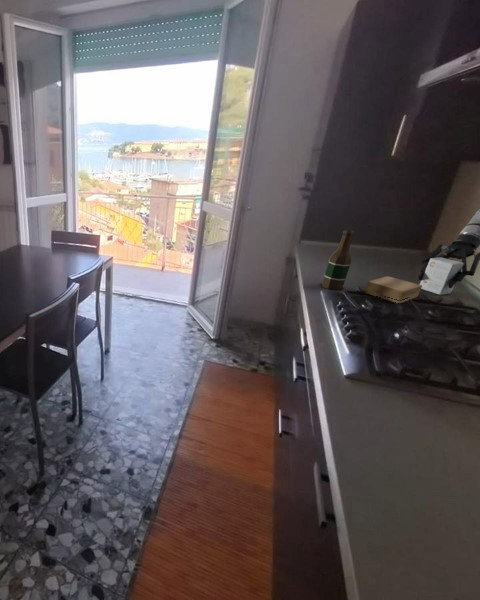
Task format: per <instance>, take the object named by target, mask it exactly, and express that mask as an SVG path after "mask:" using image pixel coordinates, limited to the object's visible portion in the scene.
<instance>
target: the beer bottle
mask: <svg viewBox="0 0 480 600" xmlns="http://www.w3.org/2000/svg"><path fill="white" fill-rule="evenodd" d="M342 233H343V234H342V237H341V239H340V242H339V245H338V247H337V249H336V250H334V251H333V252H332V253H331V254H330V256H329V258H328V262H327V265H326V269H325V272H324V275H323V279H322V283H321V286H322V287H323V288H325V289H328V290H333V291H340V290H341V291H342V289H343V287H344V286H345V282H346V279H347V276H348V273H349V269H350V267H351V263H352V255H351V252H350V248H351V245H352V239H353V236H354V235H355V231H354V230H348V229H345V230H343V231H342Z"/></svg>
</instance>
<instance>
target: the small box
mask: <svg viewBox="0 0 480 600" xmlns="http://www.w3.org/2000/svg"><path fill="white" fill-rule="evenodd" d="M463 265H464V263H462V261H457V260H454V259H450V258H448V259H446V258H436V257H434V258H431V259H430V261H429V263H428V265H427V268H426V270H425V273H424V275H423V278H422V280H420V283H419V285H422V287H421V290H424V291H427V292H430V293H433V294H435V295H436V294H437V295H440V296H442V295H449V294H452V292H453V290H454V287H455V284H456V283H455V284H454V286H453V287H452V288H449V283H450V282H451V280H452V279H453V278H454V277H455V276H456V274H457V273H458V272H459V271H460V272H462V267H463Z"/></svg>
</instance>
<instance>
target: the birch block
mask: <svg viewBox="0 0 480 600" xmlns="http://www.w3.org/2000/svg"><path fill="white" fill-rule="evenodd" d="M421 287H422V285H420V283H419V284H418V283H415V282H412V281H407V280H403V279H399V278H396V277H392V276H388V275H385V276H382V277H379V278H375V279H371V280H369V281H367V284H366V286H365V289H364V292H363V293H364V294H367V295H369V296H374V297H376V296H378V297H377V298H379V297H381V298H380V299H383V300H386V301H389V302H392V303H395V302H396V303H395V304H398V303H399V304H402V303H405V302H407V301H410V300H414V299H416V298H418V297H419V295H420V292H421V291H422V289H421ZM375 293H376V294H375ZM378 294H379V295H378ZM381 295H382V296H381ZM384 296H386V297H384ZM387 297H390V298H387ZM407 297H410V298H408V299H405V298H407ZM391 298H393V299H391ZM394 299H397V300H402V299H405V300H402V301H397V300H394ZM409 299H410V300H409Z"/></svg>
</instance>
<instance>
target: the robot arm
mask: <svg viewBox="0 0 480 600" xmlns="http://www.w3.org/2000/svg"><path fill="white" fill-rule="evenodd" d="M479 247H480V209H478V211H476V212H475V214H474V215H473V216H472V218H470V220H469V222H467V224H466V225H465V226H464V227H463V228H462V230H461V231H460V232H459V234H458V235H457V236H456V237H455V239H454V240H453V241H452V242H451V243H450V244H449V245H447V246H446V245H443V244H441V243H440V244H438V245H437V247H436V248H435V249H433V251H432V252H430V253H428V254H427V255H426V256H425V257H423V258H422V259H421V260H420V262H421V265H422V267H421V268H420V274H419V275H418V281H421V280H422V278H423V275H424V273H425V270H426V268H427V265H428V263H429V261H430V259H431V258H446V259H450V258H452V259H457V260H461V262H462V263H464V265H463V267H462V269H461V272H460V271H459V272H458V273H457V274H456V276H455V277H454V278H453V279H452V280H451V282H450V283H449V288H452V287H453V286H454V287H455V285H454V284H456V283H457V282H462V281H463V280H464V279H465V277H466V276H470V277H474V276H475V274H476V271H477V269H478V266H479V264H480V251H479V252H478V251H476V250H478V248H479ZM441 253H442V254H441ZM472 256H473V258H474V259H473V260H472V263H471V266H470V269H469V270H468V267H467V266H468V265H467V264H468V263H467V258H469V257H472ZM454 287H453V288H454Z"/></svg>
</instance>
